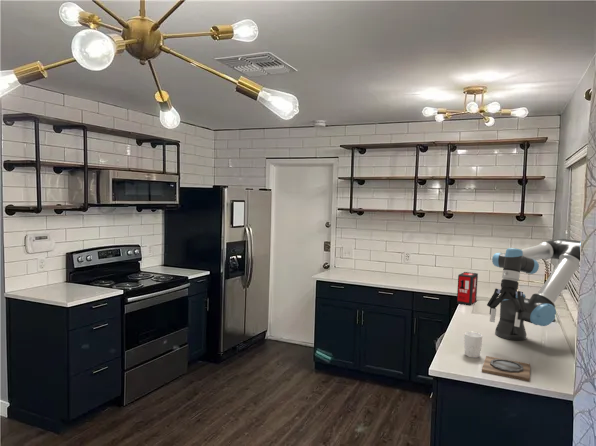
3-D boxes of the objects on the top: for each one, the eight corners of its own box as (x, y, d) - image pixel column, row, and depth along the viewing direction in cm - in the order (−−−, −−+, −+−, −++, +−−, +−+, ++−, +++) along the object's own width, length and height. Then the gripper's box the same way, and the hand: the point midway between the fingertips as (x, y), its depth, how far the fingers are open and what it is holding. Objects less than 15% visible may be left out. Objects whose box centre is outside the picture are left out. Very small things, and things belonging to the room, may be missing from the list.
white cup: (476, 352, 213) (478, 331, 212) (484, 358, 205) (485, 337, 204) (460, 352, 213) (461, 331, 212) (467, 358, 205) (468, 336, 204)
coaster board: (486, 358, 205) (486, 354, 205) (530, 366, 197) (530, 362, 197) (481, 371, 189) (482, 367, 189) (529, 381, 181) (529, 376, 181)
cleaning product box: (470, 305, 303) (471, 276, 301) (456, 303, 308) (458, 275, 306) (476, 301, 316) (477, 273, 315) (463, 299, 321) (464, 271, 320)
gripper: (483, 276, 225) (477, 318, 221) (528, 280, 202) (522, 327, 199) (493, 279, 228) (487, 321, 225) (539, 283, 206) (533, 330, 203)
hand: (504, 324), depth 212 cm, fingers open, 13 cm apart
